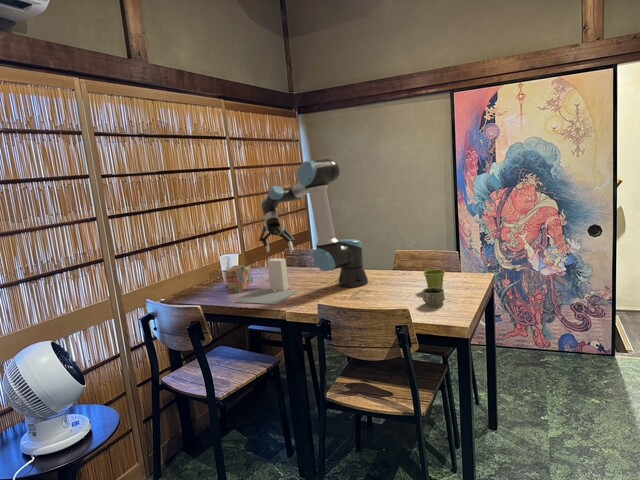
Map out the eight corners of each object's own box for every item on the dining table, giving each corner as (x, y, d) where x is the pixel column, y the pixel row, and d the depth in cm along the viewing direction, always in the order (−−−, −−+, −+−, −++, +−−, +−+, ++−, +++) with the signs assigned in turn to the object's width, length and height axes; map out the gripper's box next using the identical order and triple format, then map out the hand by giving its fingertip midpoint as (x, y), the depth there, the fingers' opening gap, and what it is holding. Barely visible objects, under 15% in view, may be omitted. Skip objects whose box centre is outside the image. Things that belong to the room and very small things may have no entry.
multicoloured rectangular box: (242, 282, 249) (240, 261, 247) (253, 281, 248) (250, 261, 246) (228, 293, 229) (225, 270, 227) (239, 292, 227) (236, 270, 225)
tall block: (289, 288, 226) (285, 258, 223) (284, 291, 221) (280, 260, 219) (275, 287, 229) (272, 258, 227) (270, 290, 225) (267, 260, 222)
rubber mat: (296, 292, 217) (296, 291, 217) (276, 304, 199) (276, 303, 199) (256, 290, 227) (256, 289, 227) (234, 302, 209) (234, 301, 209)
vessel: (423, 300, 184) (422, 286, 184) (445, 300, 182) (444, 285, 181) (422, 309, 173) (421, 294, 172) (445, 309, 171) (444, 294, 170)
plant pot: (434, 294, 190) (433, 275, 189) (420, 290, 199) (419, 272, 197) (450, 290, 195) (449, 271, 193) (435, 286, 203) (434, 268, 201)
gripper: (290, 227, 249) (299, 256, 236) (249, 224, 237) (256, 254, 225) (294, 218, 244) (304, 247, 231) (253, 215, 232) (260, 245, 220)
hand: (280, 251), depth 228 cm, fingers open, 13 cm apart
